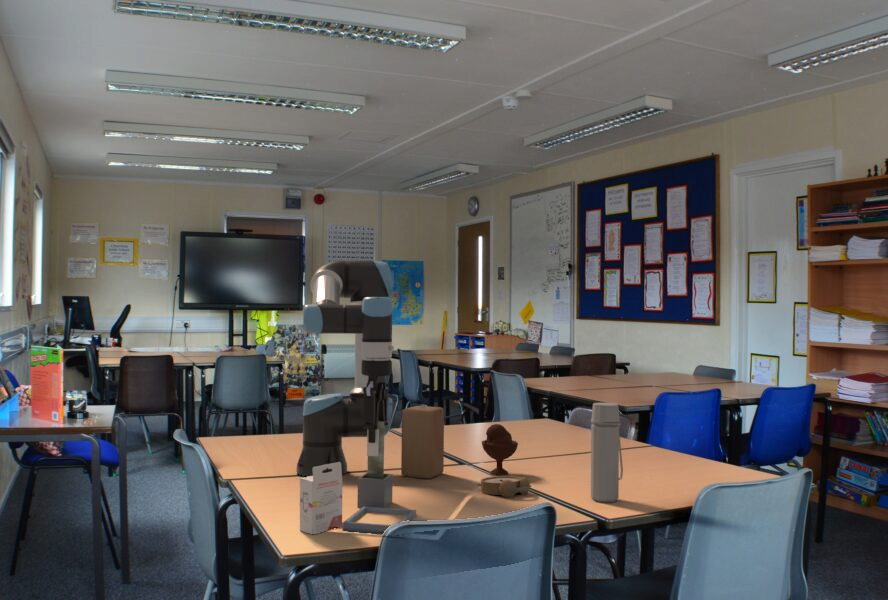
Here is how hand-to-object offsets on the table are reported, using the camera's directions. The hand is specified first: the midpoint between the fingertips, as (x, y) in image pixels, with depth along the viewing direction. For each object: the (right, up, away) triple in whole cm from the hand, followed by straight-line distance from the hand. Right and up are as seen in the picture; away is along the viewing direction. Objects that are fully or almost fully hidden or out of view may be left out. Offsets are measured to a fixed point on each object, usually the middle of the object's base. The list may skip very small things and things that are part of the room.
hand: (375, 453), depth 181 cm
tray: (+2, -13, -14) cm, 20 cm away
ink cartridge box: (-11, -13, -18) cm, 25 cm away
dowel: (0, -7, 0) cm, 7 cm away
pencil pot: (0, -13, 0) cm, 13 cm away
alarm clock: (+34, -15, +17) cm, 41 cm away
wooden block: (+10, -15, +38) cm, 42 cm away
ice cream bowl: (+34, -15, +41) cm, 55 cm away
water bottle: (+60, -14, +11) cm, 62 cm away
